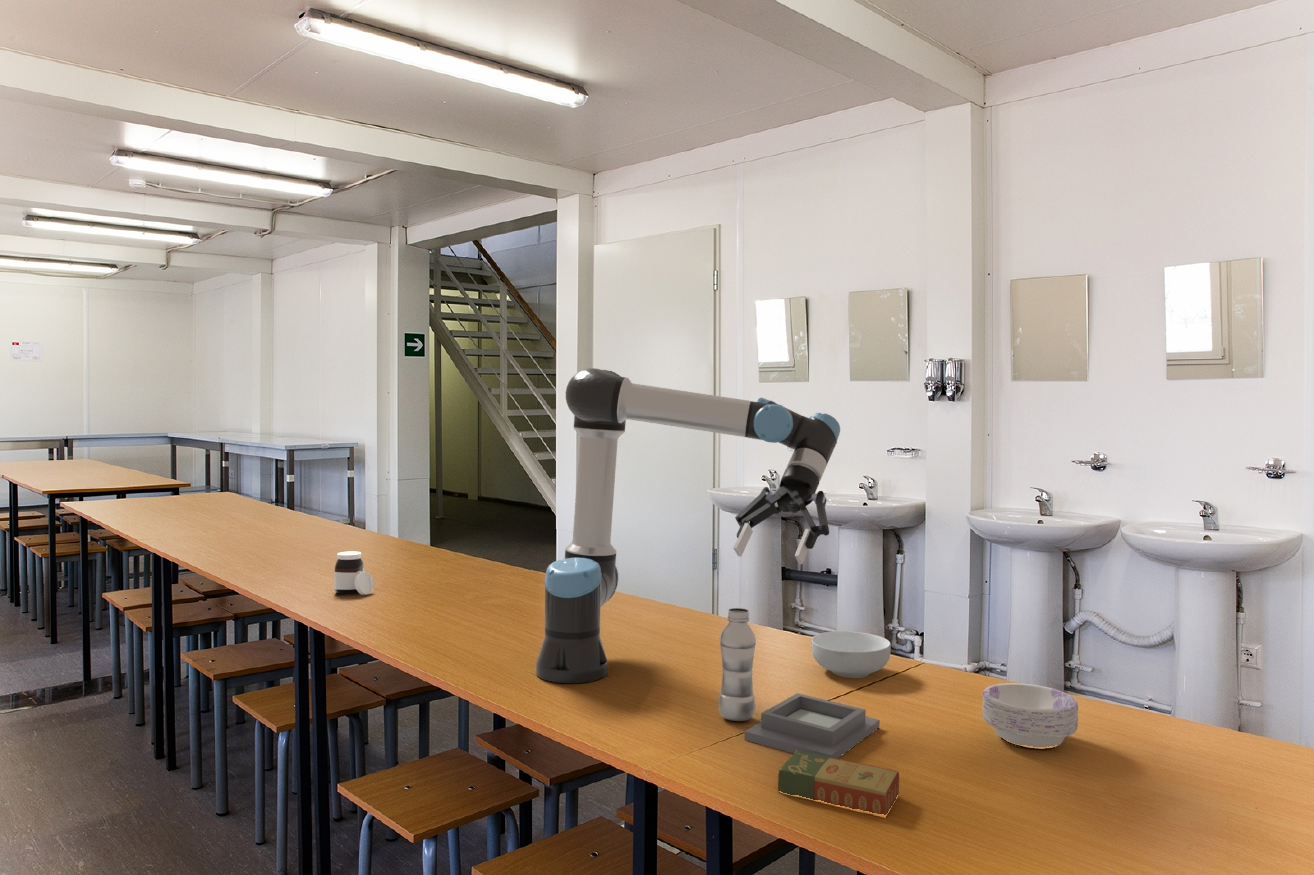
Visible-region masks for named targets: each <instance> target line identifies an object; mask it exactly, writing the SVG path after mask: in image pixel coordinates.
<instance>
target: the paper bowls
mask: <svg viewBox="0 0 1314 875" xmlns="http://www.w3.org/2000/svg"><path fill="white" fill-rule="evenodd" d="M1078 714H1079V704H1078V701H1077V699H1075V697H1074V696H1072V695H1070V694H1069V693H1066V692H1064V691H1061V690H1059V689H1056V688H1053V687H1048V686H1043V685H1038V684H1031V683H1019V682H1016V683H1015V682H1013V683H1012V682H1010V683H1008V682H1007V683H1006V682H1005V683H1004V682H1003V683H997V684H996V683H995V684H993V685H989V686H986V687H985V689H984V690H983V691H982V719H983V720H984V721H985V723H987V724H988V725H990V726H991V727H993V728H994V731H995V733H996V735H997V736H998V737H999V736H1000V737H1002V738H1003V739H1005V740H1008V741H1010V742H1012V743H1015V744H1019V745H1027V746H1033V747H1047V746H1048V747H1049V746H1055V745H1059V744H1060V745H1062V744H1063V742H1064V739H1065V738H1066V737H1069V736H1072V735H1074V734H1076V733H1077V731H1078V727H1079V726H1078V725H1079V723H1078V721H1079V716H1078ZM1000 737H999V738H1000ZM1060 745H1059V746H1060Z"/></svg>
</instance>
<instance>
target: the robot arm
mask: <svg viewBox="0 0 1314 875" xmlns="http://www.w3.org/2000/svg"><path fill="white" fill-rule="evenodd" d="M565 401H566V404H567V407H568V409H569V410H570V412H571V413H572V414H573V416H574V417H573V429H574V430H575V431H576V433H577V435H578V436H579V441H578V442H579V443H578V457H577V472H576V473H577V474H576V486H575V499H574V500H575V502H574V515H573V516H574V518H573V528H572V529H573V532H572V541H571V542H570V543H569V544H567V546H566V547H565V549H564V550H565V551H564V558H563V559H557V560H556V561H553V562H552V563H550V564H549V565H548V566H547V567H546V571H545V577H544V587H545V589H544V596H545V597H544V599H545V600H544V601H545V604H544V638H543V640H542V643H541V647H540V650H539V653H538V655H537V658H536V662H535V675H536V676H537V677H538V678H540V679H542V680H545V681H547V680H548V681H547V682H551V681H552V683H560V684H581V683H590V682H594V681H598V680H601V679H602V678H605V676H607V674H608V673H609V672H608V670H609V669H608V667H609V664H608V658H607V655H606V653H605V652H606V651H605V648H604V644H603V642H602V639H601V608H602V607H603V606H604V605H605V604H606V603H607V602H608V601H610V600H611V599H612V598H613V596H614V594H615V593H616V590H617V587H618V586H619V585H618V584H619V572H618V568H617V566H616V564H617V562H616V561H617V549H616V548H615V547H614V546H613V545H612V544H611V538H612V524H613V510H614V499H615V498H614V494H615V484H616V483H615V481H616V468H617V455H618V454H617V452H618V440H619V438H620V437H621V436H622V435H623V434H624V433H625V432H626V421H627V420H629V421H637V422H643V423H650V424H656V425H664V426H669V427H677V428H683V429H689V430H695V431H696V430H697V431H703V432H708V433H715V434H721V435H722V434H723V435H727V436H728V435H730V436H734V437H740V438H741V437H742V438H748V439H752V440H760V441H764V442H767V443H771V444H772V443H773V444H776V443H777V444H778V443H779V444H781V445H783V446H785V447H787V448H789V449H792V450H794V451H793V453H792V455H791V457H790V459H789V461H788V463H787V465H786V468H785V470H784V472H783V475H782V477H781V478H780V480H779V481H780V483H779V486H778V488H776V490H772V489H770V488H769V487H768V486H765V487H763V489H762V490H761V492H760V493H759V494H758V495H757V496H756V497H755V498H754V499H753V500H752V501H751V502H750V503H749V504H747V505H746V507H744V508H743V510H741V511H740V512H739V513H738V514H737V515H736V516H734V517H735V520H736V522H737V524H738V526H739V529H738V531H737V533H736V538H737V539H736V542H735V544H734V545H733V550H734V551H735V553H736V555H737V557H740V558H741V557H742V556H743V554H744V551H745V549H746V547H747V545H748V544H749V541H750V539H751V536H752V534H753V528H754V527H756V526H757V525H759V524H761V523H762V522H764V521H765V520H767V519H768V518H770V517H771V516H773V515H774V514H775V515H778V514H779V513H781V512H783V513H789V512H790V513H793V514H796V513H797V512H801V514H802V516H803V518H804V520H805V521H806V523H807V526H808V527H809V528H805V529H804V531H803V534H802V536H801V539H800V541H799V544H798V545H797V549H796V552H795V554H794V557H795V559H796V561H797V563H798V565H804V562H805V560H806V557H807V554H808V552H809V550H812V549H813V548H814V547H815V544H816V543H817V540H818V538H819V537H820V536H821V535H824V536H829V535H830V528H829V523H828V517H827V511H826V505H827V501H828V500H827V498H826V495H825V493H824V491H822V490H819V491H818V492H817V489H818V487H819V485H820V482H821V480H822V477H823V475H824V473H825V470H826V468H827V466H828V464H829V461H830V459H831V456H832V454H833V452H834V450H835V447H836V445H837V444H838V439H839V436H840V433H841V425H840V423H839V421H838V420H837V419H836V417H834V416H832V415H831V414H828V413H821V412H815V413H813V414H811V415H809V416H810V417H807V416H804V415H801V414H800V413H797V412H795V411H793V410H791V409H789V408H787V407H785V406H784V405H782V404H778V403H776V402H775V401H773V400H770V399H767V398H764V397H759V398H757V399H756V401H751V400H746V399H741V398H740V399H739V398H733V397H727V396H720V395H713V394H706V393H700V392H693V391H687V390H679V389H672V388H666V387H659V386H653V385H645V384H641V383H633V382H632V381H631V379H630V378H629V377H625V376H621V375H619V374H618V373H617V372H615V371H612V370H608V369H600V368H595V367H592V368H591V367H589V368H585V369H582V370H580V371H578V372H576V373H575V374H574V375H573V376H572V377H571V378H570V380H569V381H568V383H567V385H566V389H565ZM816 492H817V493H816ZM813 502H814V503H815V506H816V511H817V513H816V514H817V517H818V524H819V525H816V523H815V522H814V519H813V518H812V515H811V514H810V511H809V510H808V508H807V506H808V505H810V504H812V503H813ZM776 504H777V506H776Z"/></svg>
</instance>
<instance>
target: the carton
mask: <svg viewBox="0 0 1314 875" xmlns="http://www.w3.org/2000/svg"><path fill="white" fill-rule="evenodd" d="M777 777H778V778H777V789H778V790H777V792H778V791H781V792H783V793H787V794H790V795H799V796H802V797H806V798H810V799H813V800H821V801H824V802H827V803H831V804H834V805H840V806H845V807H849V808H852V809H860V810H863V811H869V812H872V813H877V814H884V815H886V814H887V813H888V811H889V809H890V808H891V806H892V805H893V803H894V801H895V800H896V797H897V795H898V794H899V795H900V772H899V771H898V770H895V769H892V768H891V769H890V768H885V767H881V766H876V765H871V764H867V763H866V764H864V763H861V762H860V763H859V762H856V761H855V762H854V761H850V760H846V759H845V760H844V759H841V758H839V759H836V758H832V757H827V756H822V755H817V754H812V753H807V752H803V751H799V750H796V752H795V753H794V754H792V755H791V756H790V757H789V758H788V759H787V760H786V761H785V763H784V764H782V766H780V768H779V769H778V776H777ZM896 801H897V800H896ZM894 804H895V803H894ZM893 806H894V805H893ZM891 809H892V808H891Z"/></svg>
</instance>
